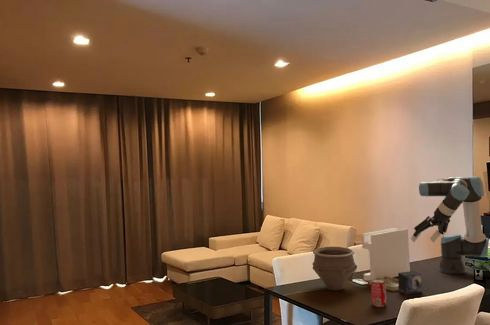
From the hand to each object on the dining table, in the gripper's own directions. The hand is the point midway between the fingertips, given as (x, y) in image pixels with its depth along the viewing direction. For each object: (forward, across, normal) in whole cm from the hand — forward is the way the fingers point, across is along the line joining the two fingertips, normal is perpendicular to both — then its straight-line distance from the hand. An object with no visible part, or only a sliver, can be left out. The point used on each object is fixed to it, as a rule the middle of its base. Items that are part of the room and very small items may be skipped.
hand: (422, 240), depth 213 cm
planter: (+46, -30, +4) cm, 55 cm away
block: (+46, +13, +12) cm, 49 cm away
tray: (+36, -1, -2) cm, 36 cm away
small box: (+27, 0, -13) cm, 30 cm away
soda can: (+24, -28, -22) cm, 43 cm away
